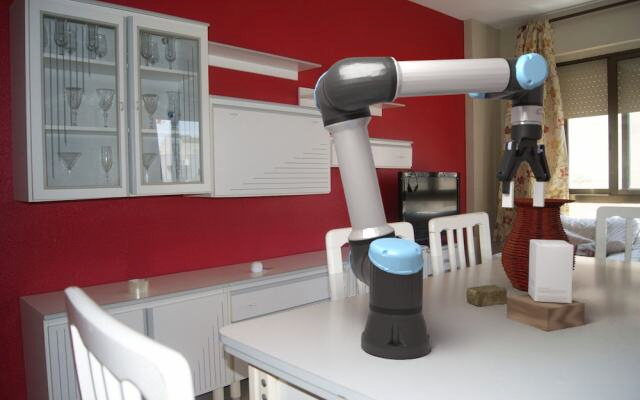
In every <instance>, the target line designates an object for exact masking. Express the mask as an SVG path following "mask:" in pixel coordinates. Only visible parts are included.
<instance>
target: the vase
mask: <svg viewBox="0 0 640 400" xmlns="http://www.w3.org/2000/svg"><path fill="white" fill-rule="evenodd" d="M575 202H576V200H575V199H565V198H547V197H544V207H541V206H533V197H532V198H531V197H529V198H528V197H527V198H525V197H524V198H523V197H522V198H521V197H518V198H515V197H514V201H513V205H515V206H516V209H515V210H516V213H515V219H514V223H513V224H512V225H511V226H512V227H511V229H510V230H509V233H508V235H507V236H506V238H505V240H504V243H503V246H502V247H501V250H500V257H501V258H500V259H501V260H500V262H501V267H502V268H503V271H504V274H505V275H506V277H507V279H508V280H509V281H510V283H511V284H512V285H513V286H512V287H514V288H516V289H518V290H521V291H527V292H528V289H529V252H530V240H531V239H533V240H564V241H566V242H568V243H570V244H571V245H572V242H570V241H571V240H570V239H569V236H568V234H567V232H566V230H565V227H564V226H563V224H562V223H563V221H562V218H561V210H562V208H561V207H563V206H564V205H565V204H572V203H575ZM576 255H577V254H576V252H575V251H574V252H573V271H575V268H576V266H575V265H576V263H577V262H576V257H577V256H576Z"/></svg>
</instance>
